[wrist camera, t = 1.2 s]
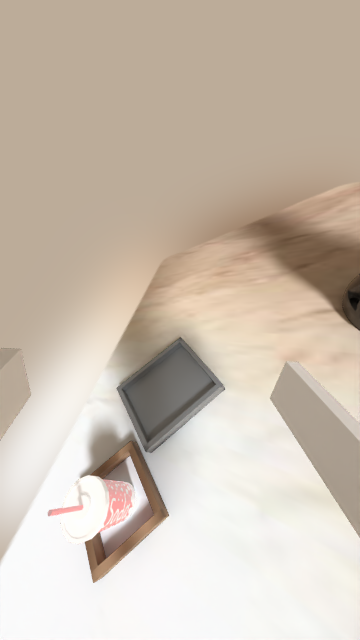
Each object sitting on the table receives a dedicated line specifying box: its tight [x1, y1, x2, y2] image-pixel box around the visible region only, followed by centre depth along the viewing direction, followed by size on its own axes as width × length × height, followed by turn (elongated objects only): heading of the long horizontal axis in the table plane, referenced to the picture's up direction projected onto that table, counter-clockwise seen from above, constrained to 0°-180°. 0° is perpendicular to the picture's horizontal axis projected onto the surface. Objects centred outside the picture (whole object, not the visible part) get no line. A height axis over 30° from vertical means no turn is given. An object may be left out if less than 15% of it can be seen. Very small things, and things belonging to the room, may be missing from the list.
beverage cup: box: [48, 475, 136, 544], centre depth 26 cm, size 6×6×14 cm
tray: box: [117, 337, 225, 453], centre depth 39 cm, size 16×13×2 cm
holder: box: [85, 441, 169, 583], centre depth 31 cm, size 11×11×2 cm
